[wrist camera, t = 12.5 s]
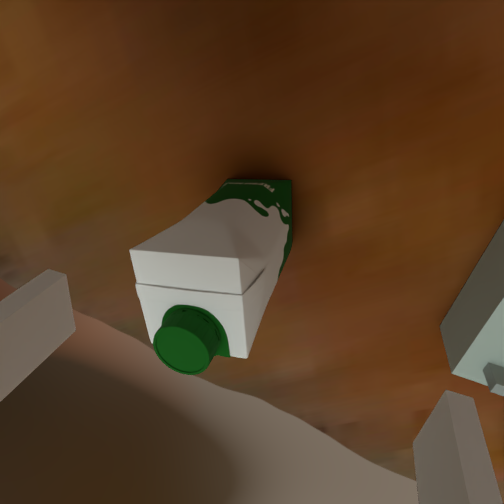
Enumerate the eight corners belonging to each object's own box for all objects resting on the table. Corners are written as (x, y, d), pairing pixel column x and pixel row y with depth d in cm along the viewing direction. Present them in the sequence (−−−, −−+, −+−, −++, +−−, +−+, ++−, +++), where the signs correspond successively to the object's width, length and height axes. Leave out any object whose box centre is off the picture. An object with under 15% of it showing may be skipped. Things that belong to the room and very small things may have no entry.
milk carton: (226, 245, 42) (128, 368, 25) (218, 168, 38) (96, 253, 21) (301, 251, 40) (248, 390, 23) (300, 169, 36) (236, 265, 19)
